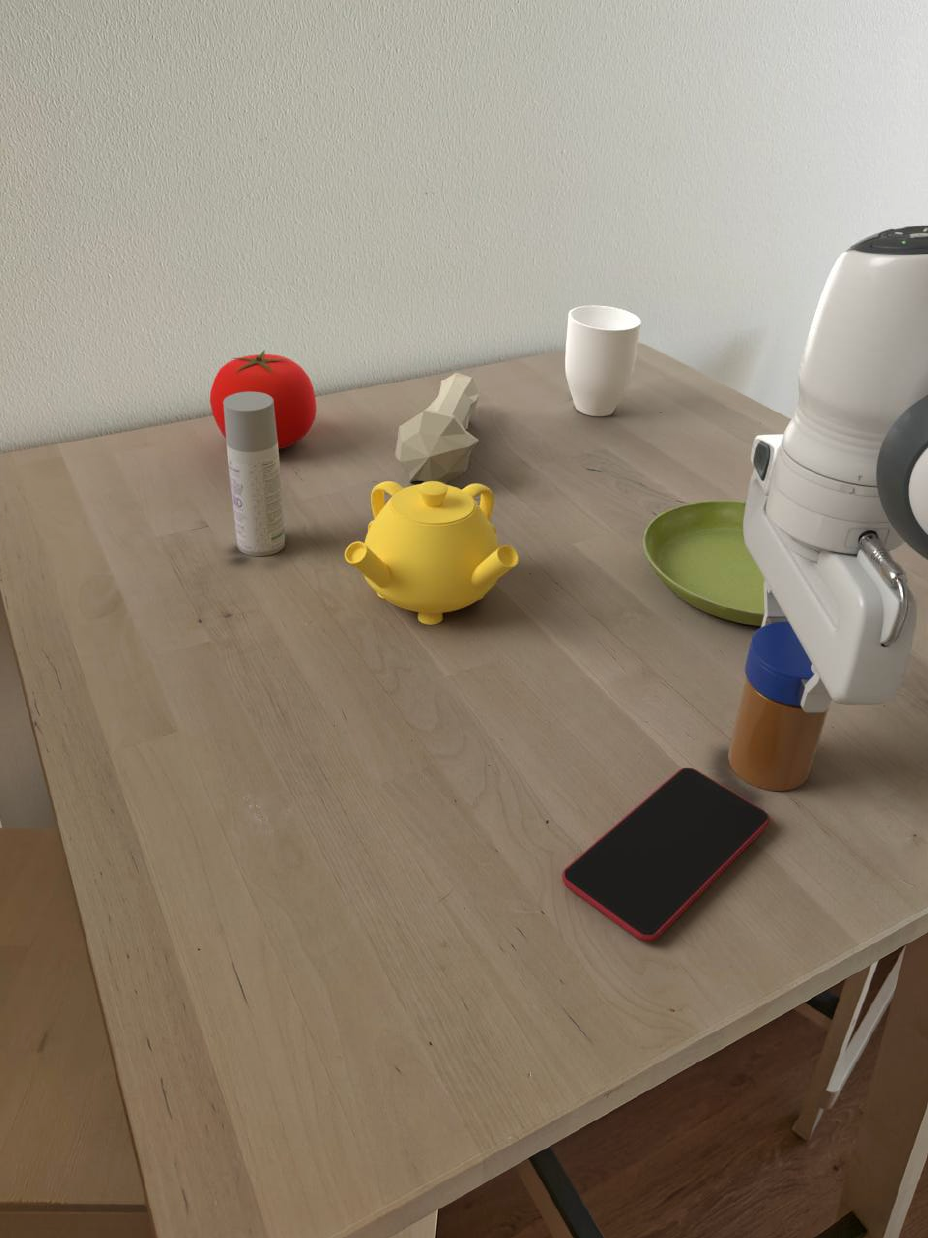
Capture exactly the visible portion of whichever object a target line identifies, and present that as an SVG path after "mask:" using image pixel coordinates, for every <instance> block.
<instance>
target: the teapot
mask: <svg viewBox="0 0 928 1238" xmlns="http://www.w3.org/2000/svg"><path fill="white" fill-rule="evenodd" d="M385 492H386V493H387V494H389V495H390V496H391V497H390V498H389V499H388V500H387V502H386V501H385ZM479 495H480V500H479V503H478V502H477V501H476V499H474V498H476V497H477V496H479ZM370 504H371V510H372V515H373V519H372V520H371V521H370V522H369V523H368V526H367V534H366V535H365V539H364V542H363V541H360V540H357V541H354V542H351V543H350V544H349V545H348V546H347V547H346V548H345V551H344V559H345V561H346V562H347V563H349V564H350V565H351V566H352V567H353V568H355V569H356V570H357V571H358V572H359V573H361V574H362V575H363V577H364V579H365V581H366V582H367V584H368V585H369V586H370V587H371V588H372V590H374V592H376V595H377V596H378V597H379V598H381V599H383V600H386V601H387V602H389V603H390V604H392V605H394V606H396V607H398V608H401V609H404V610H407V611H411V612H416V613H417V620H418V621H419V622H420V623H422V624H423V625H429V626H430V625H431V626H432V625H437V624H439V623H441V622H442V621H443V613H449V612H454V611H459V610H461V609H464V608H466V607H468V606H470V605H472V604H474V603H475V602H478V601H480V600H482V599H483V598H484V597H485V595H486V594H487V593H489V592H490V590H492V589H493V588H494V587H495V585H496V584H497V581H498V580H499V578H501V577H502V576H504V575H505V574H506V573H508V572H509V571H510V570H512V569H513V568H515V567H516V566H517V565H518V563H519V561H520V560H519V559H520V558H519V553H518V552H517V550H516V549H515V548H514V547H513V546H511V545H509V544H502V545H500V546H499V541H498V538H497V530H496V527H495V525H494V524H493V523H492V522H490V521H491V519H492V514H493V511H494V505H495V496H494V493H493V491H492V490H491V488H489V487H488V486H486V485H485V484H482V483H471V484H467V486H465V487H464V488H462V489H461V488H459V487H456V486H453V485H449V484H446V483H445V484H444V483H441V482H437V481H428V482H424V481H423V482H422V483H418V484H413V485H410V486H407V487H403V486H402V485H400V484H399V483H398V482H395V481H391V480H386V481H382V482H380V483H378V484H377V485H375V486H374V487H373V489H372V490H371V493H370Z"/></svg>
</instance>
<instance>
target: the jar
mask: <svg viewBox="0 0 928 1238" xmlns="http://www.w3.org/2000/svg"><path fill="white" fill-rule="evenodd" d="M829 709H830V707H829V708H828V709H827V710H826V711H824V712H805V711H804V710H803V709H802V707H801V706H794V705H789V704H784V703H781V702H778V701H775V700H773V699H771V698H768V697H767V696H765V695H763V694H762V693H760V692H759V691H758V690H756V689H755V688H754V687H753V686H752V685H751V683H750V682H749V681H748V679H747V677H746V676H745V680H744V684H743V689H742V693H741V697H740V701H739V704H738V709H737V713H736V717H735V722H734V726H733V730H732V736H731V738H730V739H731V740H730V744H729V748H728V752H727V759H728V764H729V766H730V767H731V769H732V771H733V772H734V773H735V774H736V775H737V776H738V777H739V778H740V779H741V780H742V781H744V782H746V783H747V784H749V785H752V786H754V787H756V788H758V789H761V790H765V791H773V792H785V791H791V790H794V789H797V788H799V787H800V786H802V785H803V784H805V782H806V781H807V780H808V778H809V775H810V773H811V769H812V766H813V763H814V759H815V755H816V752H817V748H818V746H819V743H820V739H821V736H822V733H823V730H824V725H825V723H826V720H827V716H828V712H829Z"/></svg>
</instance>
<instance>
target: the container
mask: <svg viewBox="0 0 928 1238" xmlns="http://www.w3.org/2000/svg"><path fill="white" fill-rule="evenodd" d="M223 404H224V417H225V430H226V438H225V442H226V454H227V463H228V474H229V482H230V491H231V500H232V501H231V502H232V511H233V519H234V528H235V539H236V545H237V549H238V550H239V551H240V552H241V553H243V554H244V555H247V556H251V557H267V556H271V555H274V554H277V553H280V551H282V550H283V549H284V548H285V545H286V532H285V521H284V519H285V518H284V507H283V494H282V492H283V491H282V477H281V466H280V464H281V463H280V452H279V450H280V449H278V441H277V431H276V421H275V411H274V402H273V398H272V397H271V396H269V395H267V394H265V393H261V392H240V393H235V394H232V395H230V396H228V397H226V398H225V400H224V402H223Z"/></svg>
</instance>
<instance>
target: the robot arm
mask: <svg viewBox="0 0 928 1238" xmlns="http://www.w3.org/2000/svg"><path fill="white" fill-rule="evenodd" d="M797 374H798V375H797V384H798V386H797V387H798V399H797V401H798V402H797V405H796V408H795V411H794V414H793V416H792V417H791V420H790V421H789V423H788V424H787V426H786V428H785V430H784V432H783V433H781V434H779V433H778V434H775V433H774V434H759V435H756V437H755V438H754V440H753V444H752V448H751V451H750V452H751V453H750V461H751V462H750V463H751V465H752V466H753V468H754V469H753V471H752V473H751V477H750V481H749V485H748V490H747V495H746V500H745V502H746V507H745V513H744V519H743V534H744V542H745V545H746V547H747V549H748V550H749V552H750V554H751V556H752V558H753V559H754V561H755V563H756V565H757V566H758V568H759V570H760V572H761V574H762V575H763V577H764V579H765V580H764V584H763V585H764V611H765V614H764V618H763V622H762V625H761V626H760V628H761V627H763V626H765V625H768V624H772V623H777V622H789V623H790V625H791V627H792V629H793V630H794V632H795V634H796V636H797V637H798V639H799V641H800V643H801V645H802V646H803V648H804V650H805V652H806V653H807V655H808V657H809V659H810V661H811V662H812V666H811V670H812V672H813V673H814V675H813V677H812V678H811V679H800V683H799V686H798V691H797V693H796V696H797V698H798V700H799V702H800V705H801V707H802V709H803V710H804V711H805V712H824V711H826V710H827V709H828V708H829V709H830V706H831V702H832V701H833V702H834V703H836V704H837V705H838V704H839V705H845V706H846V705H847V706H872V705H882V704H886V703H887V702H891V701H892V700H893V699H895V698H896V696H897V694H899V693H898V692H899V690H900V688H901V684H902V681H903V679H904V675H905V671H906V669H907V665H908V660H909V657H910V653H911V648H912V646H913V645H912V644H913V640H914V637H915V630H916V625H917V616H918V615H917V614H918V611H917V610H918V609H917V601H916V598H915V596H914V593H913V591H912V589H911V588H910V586H909V585H908V584H907V581H908V576H907V573H906V571H905V570H904V568H903V567H902V565H900V563H899V562H897V561H895V559H894V558H893V557H892V555H891V551H893V550H896V549H898V548H900V547H901V546H902V545H904V543H906V544H907V545H908V546H909V547H910V548H911V549H912V550H913V551H915V552H916V553H917V554H918V555H920V556H921V557H922V558H924V559H925V560H927V561H928V225H912V226H911V225H910V226H909V225H908V226H904V227H900V228H899V227H898V228H888V229H885V230H882V231H881V230H880V231H879V232H875V233H873V234H871V235H869V236H866V237H864V238H863V239H860V240H859V241H856V242H855V243H854V244H852V245H850V246H849V248H848V249H846V250H845V251H844V252H842V253H841V254H840V256H839V257H838V258H837V260H836V261H835V264H834V265H833V267H832V269H831V271H830V273H829V275H828V278H827V279H826V282H825V285H824V287H823V290H822V292H821V295H820V299H819V301H818V304H817V307H816V310H815V313H814V316H813V320H812V323H811V326H810V329H809V332H808V335H807V339H806V343H805V346H804V350H803V353H802V356H801V361H800V364H799V369H798V373H797Z"/></svg>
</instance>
